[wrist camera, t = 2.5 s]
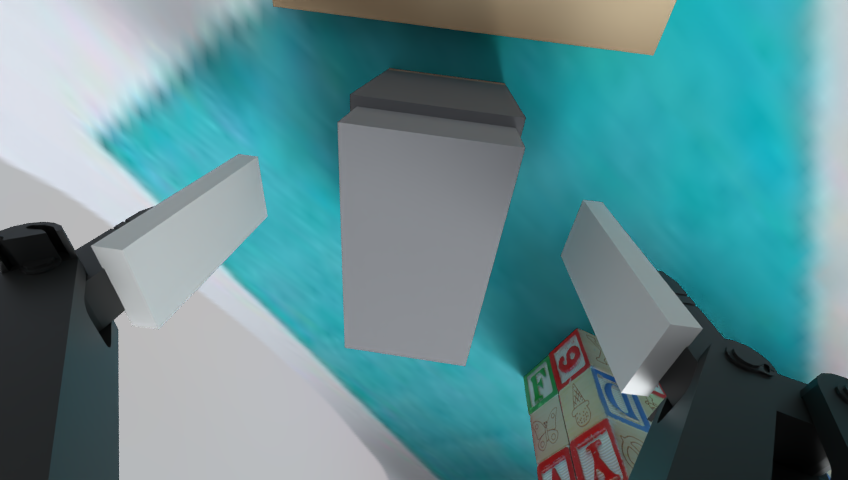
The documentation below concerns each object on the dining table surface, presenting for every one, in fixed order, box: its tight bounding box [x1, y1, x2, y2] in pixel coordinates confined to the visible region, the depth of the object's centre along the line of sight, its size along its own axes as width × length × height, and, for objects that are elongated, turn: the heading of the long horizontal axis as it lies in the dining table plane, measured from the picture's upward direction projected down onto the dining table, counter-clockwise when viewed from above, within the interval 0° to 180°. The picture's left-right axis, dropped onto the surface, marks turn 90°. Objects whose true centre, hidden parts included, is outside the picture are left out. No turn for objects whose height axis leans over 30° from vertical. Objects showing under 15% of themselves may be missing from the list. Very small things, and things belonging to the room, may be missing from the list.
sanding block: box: [338, 68, 526, 366], centre depth 14 cm, size 9×5×8 cm, turn 174°
